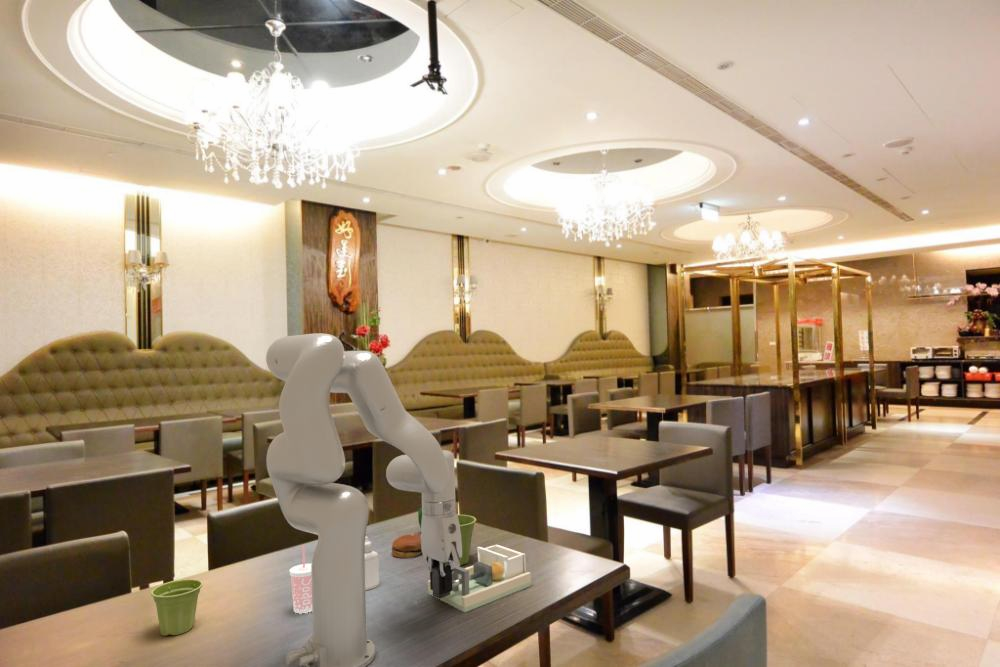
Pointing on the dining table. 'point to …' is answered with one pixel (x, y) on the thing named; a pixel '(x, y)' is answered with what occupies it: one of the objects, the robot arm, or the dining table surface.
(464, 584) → the pitch
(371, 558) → the eye dropper bottle
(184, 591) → the plant pot
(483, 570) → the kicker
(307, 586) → the beverage cup
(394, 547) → the burger
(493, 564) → the ball
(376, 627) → the dining table surface
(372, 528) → the dining table surface
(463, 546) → the plant pot
